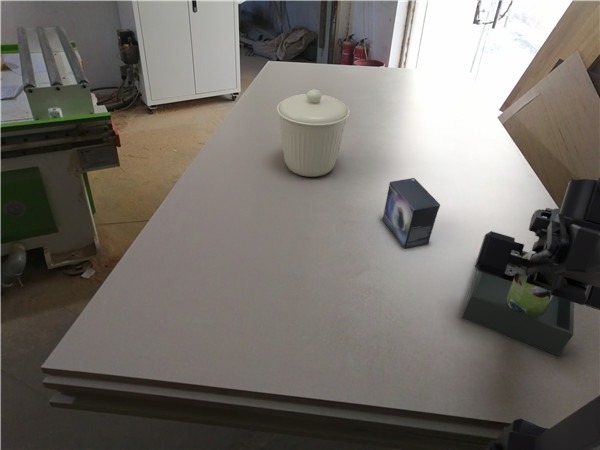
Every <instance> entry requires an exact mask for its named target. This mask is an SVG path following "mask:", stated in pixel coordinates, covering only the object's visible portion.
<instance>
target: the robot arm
mask: <svg viewBox="0 0 600 450" xmlns="http://www.w3.org/2000/svg"><path fill="white" fill-rule="evenodd" d="M528 226H529V227H528V230H529V232H531V233H532V232H533V233H534V234H535V237H538V239H537V241H535V242H534V243H533V245H532V249H531V250H532V251H534V252H535V254H534V253H533V254H531V257H530V259H529V260H528V259H525V258H521V257H522V256H521V254H522V251H524V247H525V244H523V243H521V242H517V241H515V240H516V237H513V236H510V235H506V234H503V233H499V232H495V231H492V230H491V231H489V232H487V233H485V234H484V236H483V239H482V242H481V246H480V249H479V251H478V255H477V257H476V261H475V264H474V267H475V269H476V270H477V271H480V272H483V273H486V274H489V275H492V276H496V277H499V278H502V279H505V280H508V281H512V282H513V279H514V276H515V274H516V273H518V274H521V275H524V276H528V277H527V280H526V283H528V284H531V285H534V286H537V287H540V288H543V289H546V290H550V291H551V292H550V294H551V295H552V296H555V297H558V298H562V299H565V300H568V301H571V302H574V304H577V305H581V306H585V307H589V308H591V309H595V310H597V311H600V177H598V178H596V179H589V178H582V179H581V178H580V179H570V180H569V181H568V184H567V187H566V190H565V193H564V196H563V199H562V203H561V206H560V208H553V209H552V208H549V207H546V208H545V209H544V208H543V209H536V210H535V211H534V212H533V214H532V215H531V218H530V223H529V225H528ZM518 266H523V267H526V268H527V269H525V270H524V268H522V269H521V267H520V268H519V267H518ZM484 450H600V395H598V396H596V397H595V398H593V399H592V400H590V401H589V402H587V403H586V404H584V405H583V406H581V407H580V408H578V409H577V410H575V411H573V412H572V413H570V414H569V415H568V416H566V417H565V418H563V419H561V420H560V421H559V422H557V423H556V424H554V425H553V426H551V427H550V428H547V429H546V428H544V427H542V426H540V425H538V424H535V423H532V422H530V421H528V420H526V419H523V418H517V419H514V420H513V421H512V422H511V424H509V425H508V426H507V427H506V426H504V427H503V433H501V434H500V435H498V436H497V438H496V439H495V440H493V439H491V440H490V441H489V442H487V444H486V446H485V448H484Z"/></svg>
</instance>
